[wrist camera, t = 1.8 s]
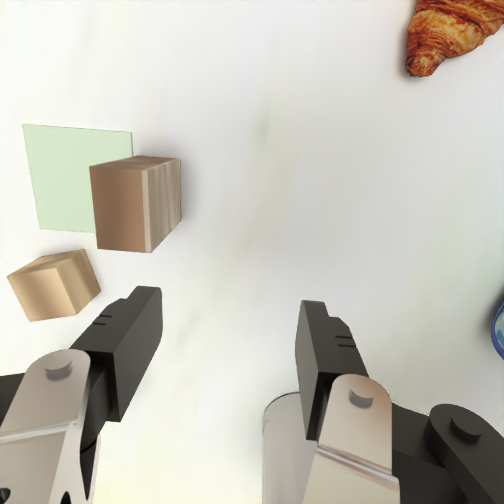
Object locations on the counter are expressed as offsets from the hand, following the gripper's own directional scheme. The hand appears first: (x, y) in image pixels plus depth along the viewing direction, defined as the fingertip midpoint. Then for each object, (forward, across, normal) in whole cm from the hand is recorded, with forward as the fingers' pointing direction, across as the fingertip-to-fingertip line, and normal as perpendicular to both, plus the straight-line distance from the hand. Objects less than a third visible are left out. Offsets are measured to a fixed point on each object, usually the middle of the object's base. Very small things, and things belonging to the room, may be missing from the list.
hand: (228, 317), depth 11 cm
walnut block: (+21, +9, 0) cm, 23 cm away
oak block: (+21, +19, +10) cm, 30 cm away
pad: (+21, +16, 0) cm, 27 cm away
